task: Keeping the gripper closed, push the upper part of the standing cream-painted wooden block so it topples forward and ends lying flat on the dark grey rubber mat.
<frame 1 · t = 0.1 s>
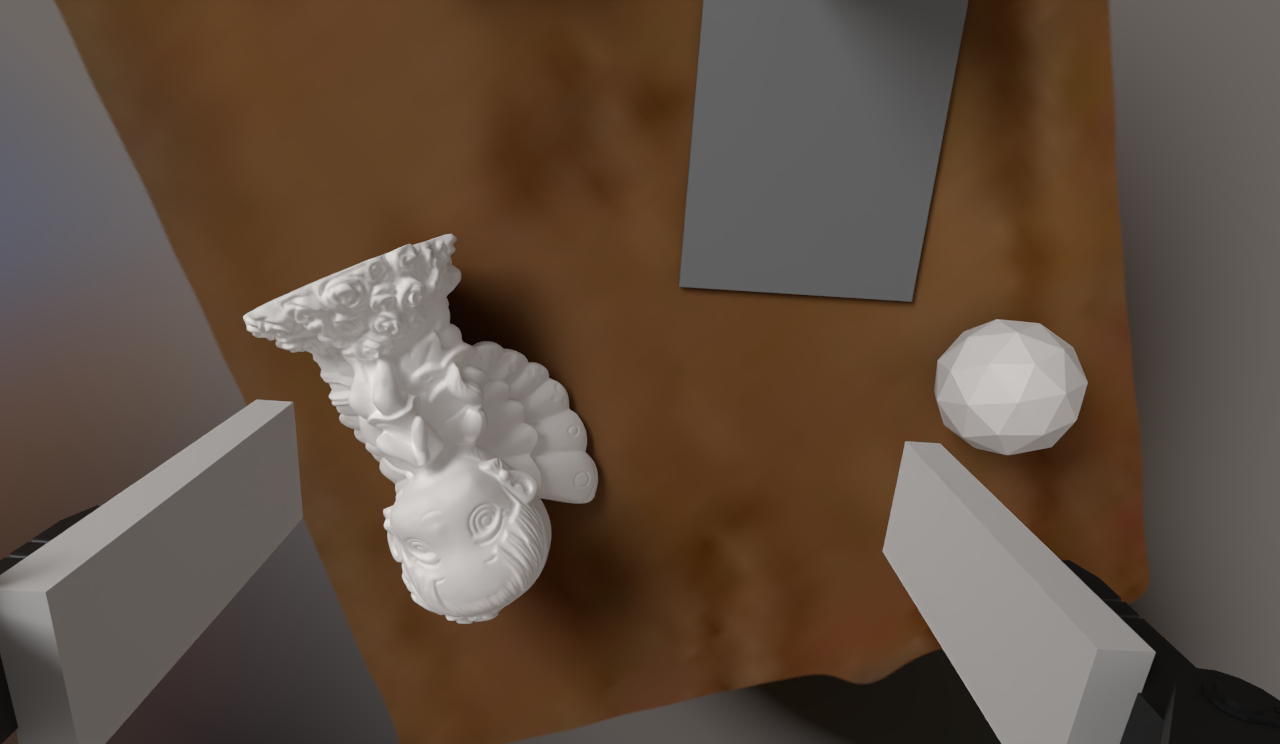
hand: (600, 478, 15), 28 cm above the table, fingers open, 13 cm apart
grey mat: (824, 78, 39), on the table
cherub figurine: (463, 397, 45), on the table
geometric ball: (974, 366, 44), on the table
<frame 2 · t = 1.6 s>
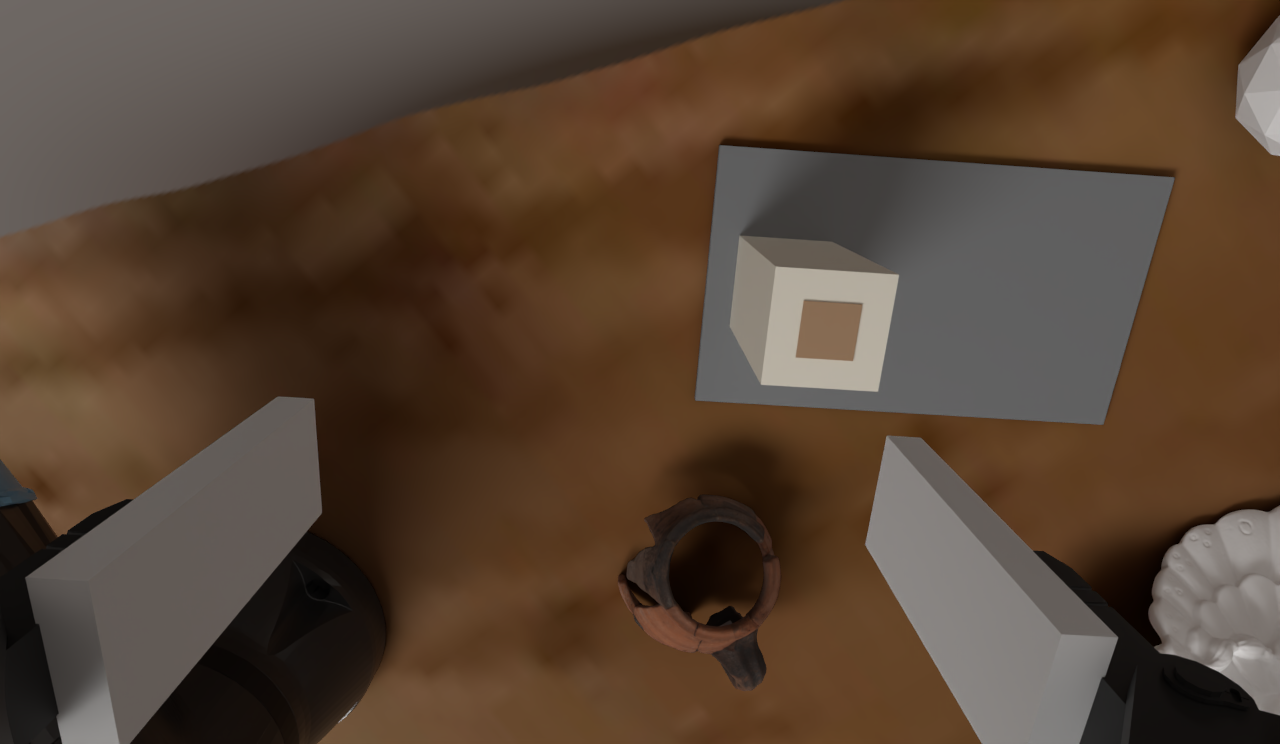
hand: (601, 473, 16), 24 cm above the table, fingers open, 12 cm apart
grey mat: (921, 292, 39), on the table
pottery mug: (698, 562, 45), on the table
cream block: (779, 284, 39), resting on grey mat
cherub figurine: (1169, 608, 46), on the table
geometric ball: (1271, 81, 36), on the table
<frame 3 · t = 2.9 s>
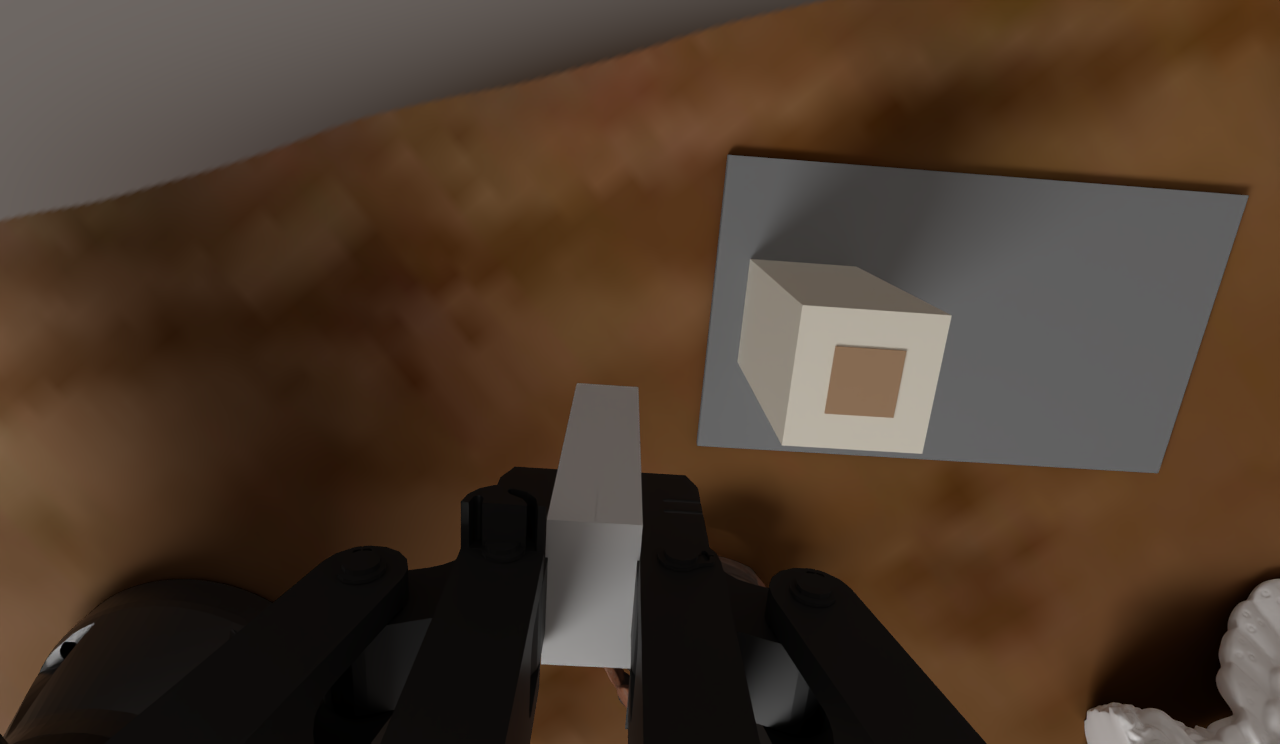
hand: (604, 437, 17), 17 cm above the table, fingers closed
grey mat: (956, 324, 34), on the table
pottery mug: (691, 626, 40), on the table
cream block: (795, 315, 33), resting on grey mat
cherub figurine: (1228, 669, 41), on the table
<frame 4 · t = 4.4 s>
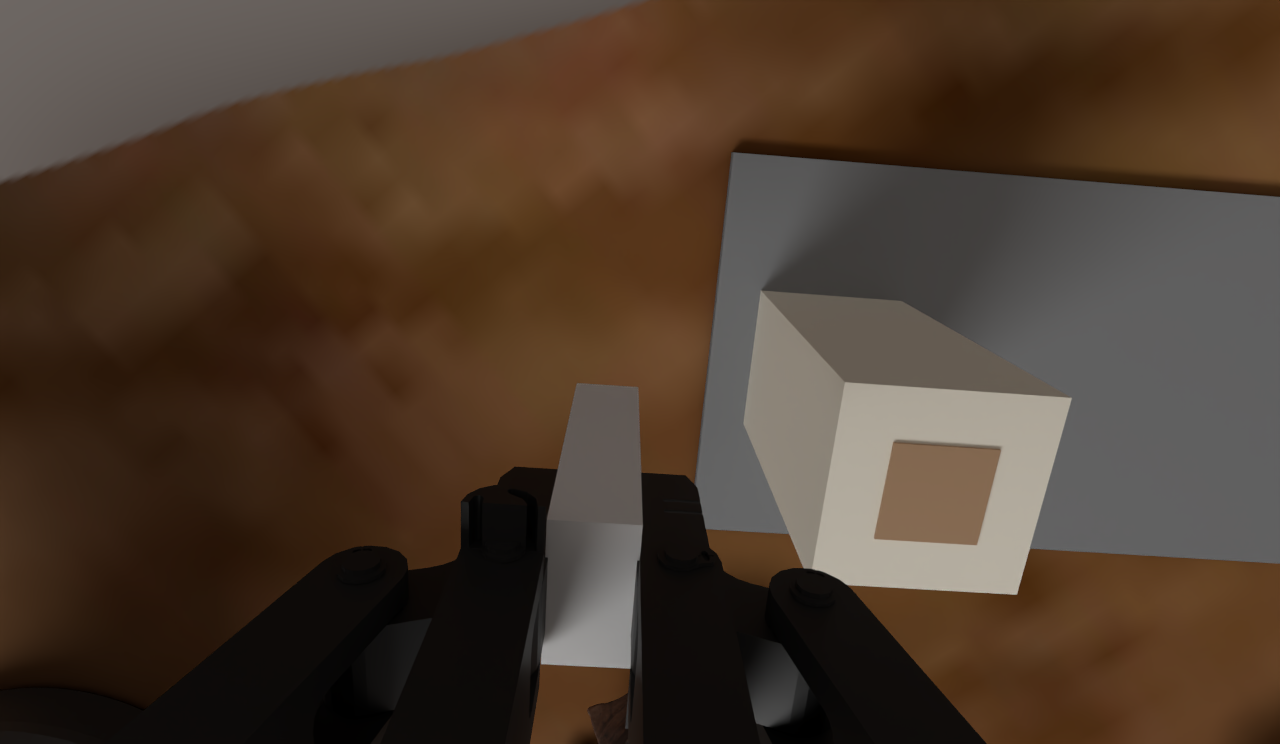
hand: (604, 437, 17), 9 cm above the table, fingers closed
grey mat: (1030, 375, 26), on the table
cream block: (820, 363, 25), resting on grey mat
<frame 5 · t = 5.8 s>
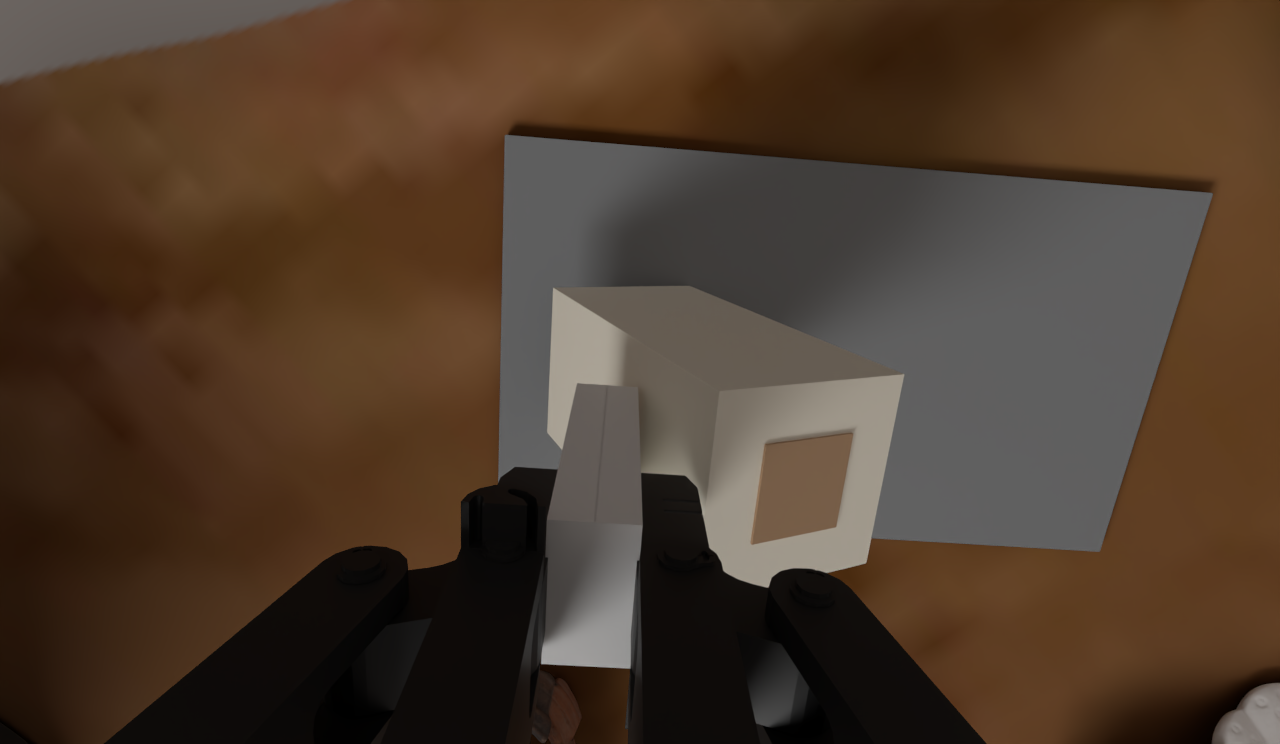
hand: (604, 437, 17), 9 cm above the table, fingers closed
grey mat: (829, 361, 26), on the table
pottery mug: (492, 737, 31), on the table
cream block: (619, 358, 24), point 1 cm above the table, tilted 25°, touching grey mat
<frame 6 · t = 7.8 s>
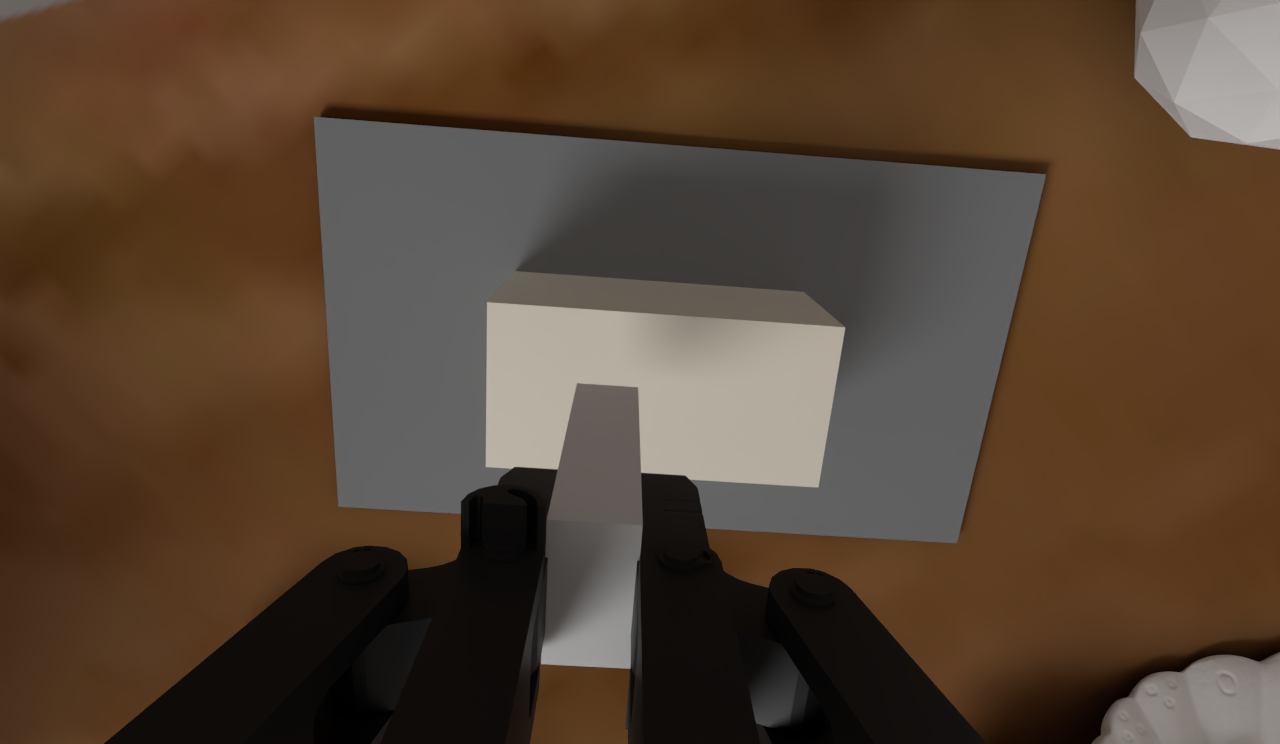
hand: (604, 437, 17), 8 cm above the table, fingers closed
grey mat: (667, 348, 26), on the table
cream block: (501, 362, 23), point 3 cm above the table, tilted 90°, touching grey mat
geometric ball: (1195, 21, 23), on the table
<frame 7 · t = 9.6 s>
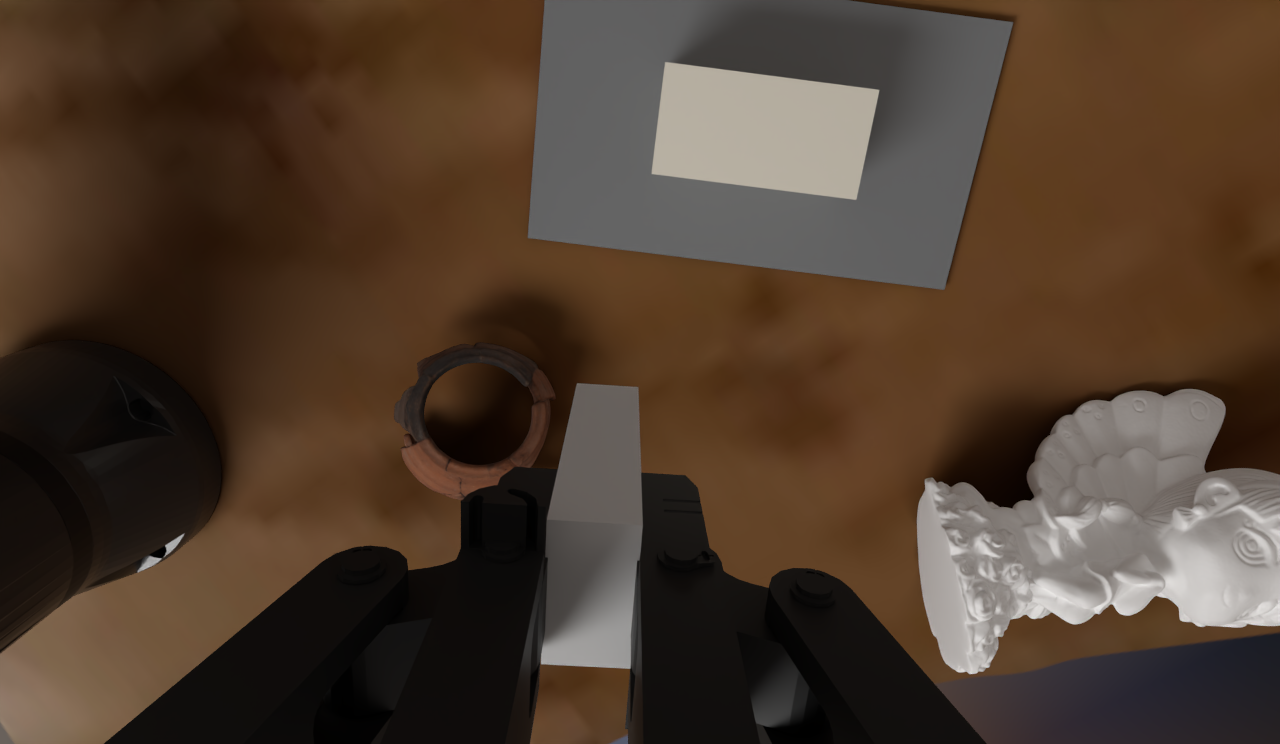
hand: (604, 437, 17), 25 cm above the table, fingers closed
grey mat: (757, 135, 38), on the table
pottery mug: (493, 424, 44), on the table
cream block: (657, 120, 36), point 3 cm above the table, tilted 90°, touching grey mat
cherub figurine: (1054, 493, 45), on the table
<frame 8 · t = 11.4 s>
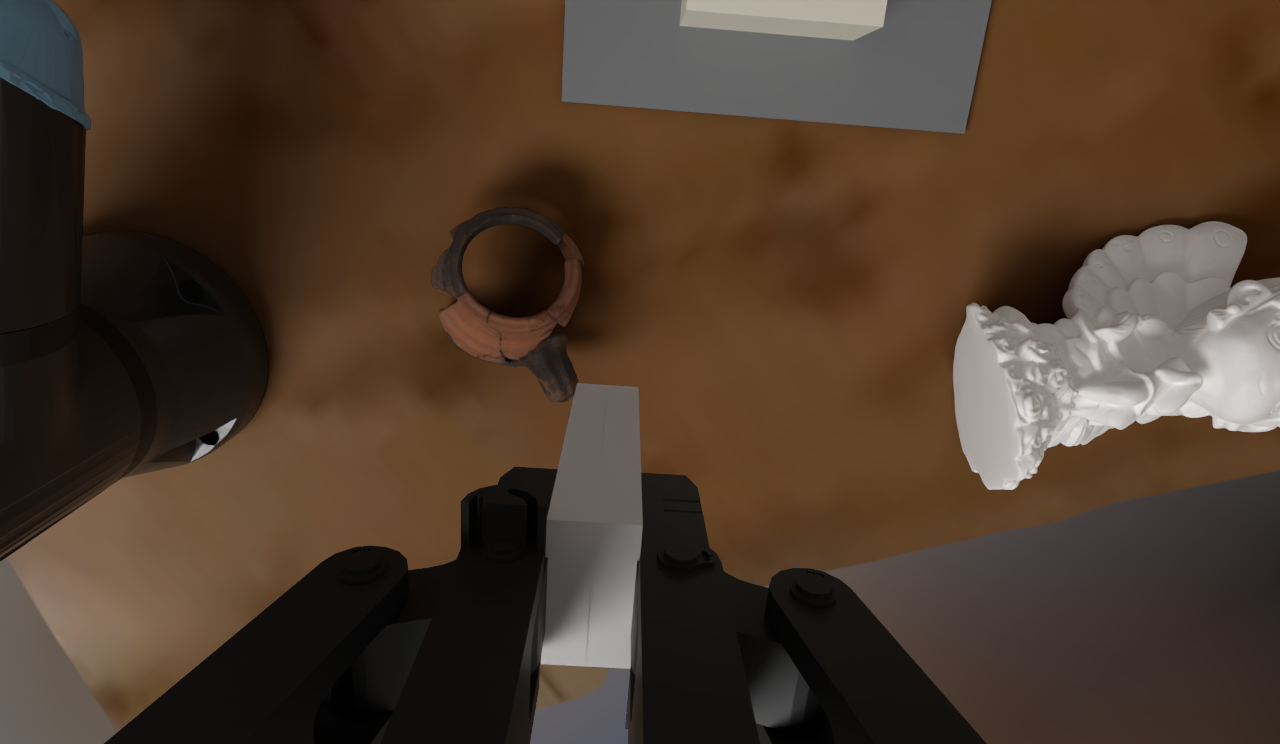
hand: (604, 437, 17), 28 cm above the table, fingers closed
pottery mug: (524, 300, 46), on the table
cherub figurine: (1083, 335, 47), on the table
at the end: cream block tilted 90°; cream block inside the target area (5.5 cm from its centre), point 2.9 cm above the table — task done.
